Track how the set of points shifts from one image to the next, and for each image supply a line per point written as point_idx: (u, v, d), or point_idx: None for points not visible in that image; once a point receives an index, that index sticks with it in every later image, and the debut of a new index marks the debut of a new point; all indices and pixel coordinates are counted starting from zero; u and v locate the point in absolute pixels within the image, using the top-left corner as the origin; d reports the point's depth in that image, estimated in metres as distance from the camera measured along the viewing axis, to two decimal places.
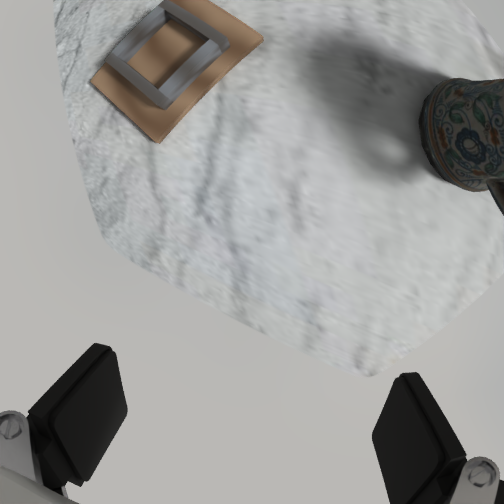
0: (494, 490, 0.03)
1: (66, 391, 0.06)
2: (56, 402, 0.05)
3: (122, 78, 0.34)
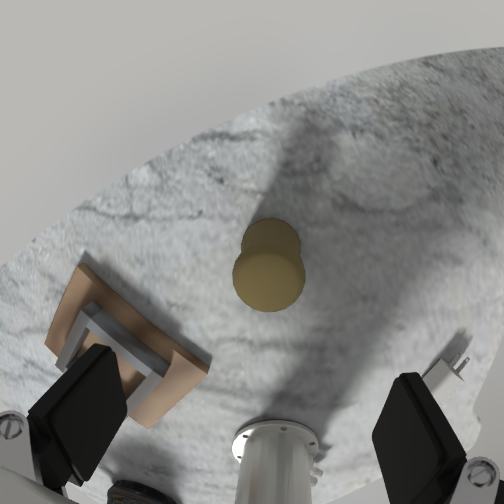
0: (494, 490, 0.03)
1: (66, 391, 0.06)
2: (56, 402, 0.05)
3: None
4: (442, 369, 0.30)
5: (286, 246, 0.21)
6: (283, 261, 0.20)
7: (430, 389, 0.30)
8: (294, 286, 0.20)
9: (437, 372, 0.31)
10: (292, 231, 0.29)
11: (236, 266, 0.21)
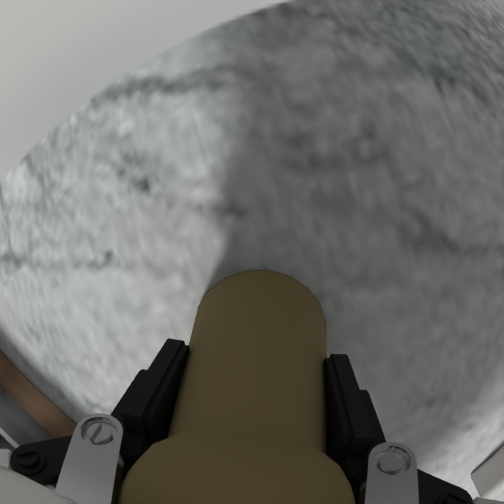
0: (413, 473, 0.04)
1: (156, 387, 0.07)
2: (150, 399, 0.06)
3: None
4: None
5: (302, 493, 0.03)
6: None
7: (485, 489, 0.13)
8: None
9: (496, 467, 0.14)
10: (310, 306, 0.12)
11: None
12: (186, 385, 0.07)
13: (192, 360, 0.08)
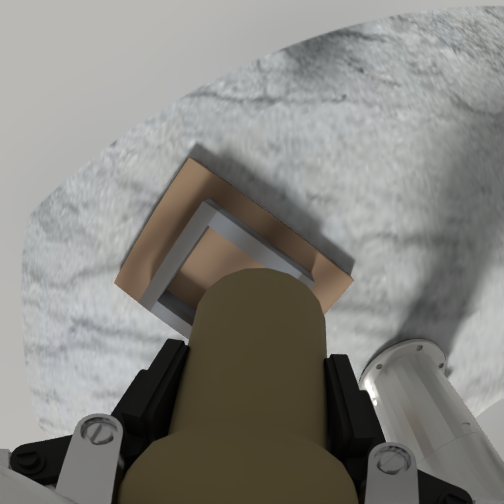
0: (413, 473, 0.04)
1: (156, 387, 0.07)
2: (150, 398, 0.06)
3: (188, 219, 0.29)
4: None
5: (305, 489, 0.03)
6: None
7: None
8: None
9: None
10: (310, 304, 0.12)
11: None
12: (186, 382, 0.07)
13: (192, 357, 0.08)
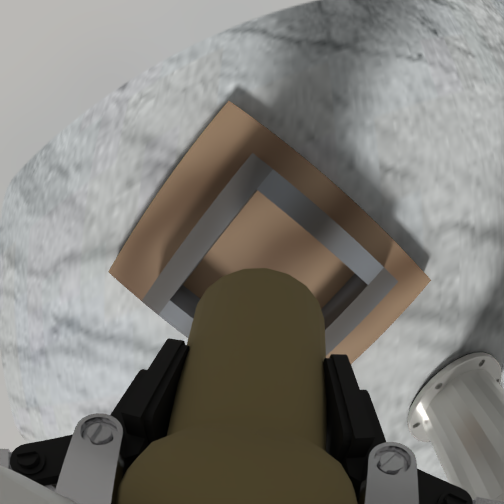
0: (413, 473, 0.04)
1: (156, 387, 0.07)
2: (150, 398, 0.06)
3: (222, 184, 0.20)
4: None
5: (304, 490, 0.03)
6: None
7: None
8: None
9: None
10: (309, 304, 0.12)
11: None
12: (185, 383, 0.07)
13: (191, 358, 0.08)
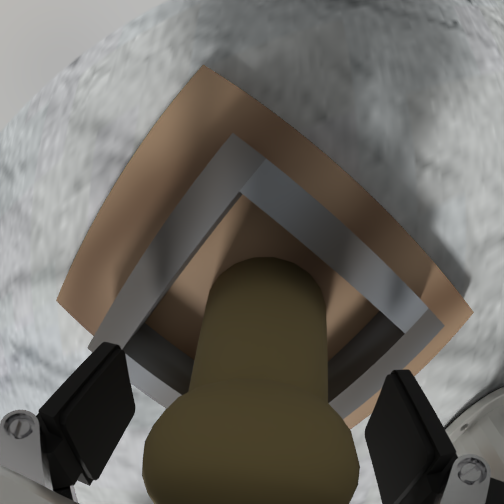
0: (485, 487, 0.03)
1: (77, 390, 0.06)
2: (67, 400, 0.06)
3: (193, 184, 0.13)
4: None
5: (311, 426, 0.05)
6: (297, 494, 0.04)
7: None
8: None
9: None
10: (312, 289, 0.13)
11: (143, 467, 0.05)
12: (204, 351, 0.09)
13: (208, 331, 0.10)
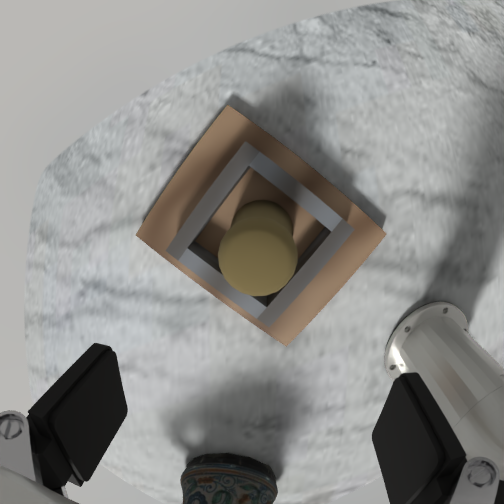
0: (493, 490, 0.03)
1: (66, 391, 0.06)
2: (56, 402, 0.05)
3: (224, 165, 0.27)
4: None
5: (275, 223, 0.19)
6: (272, 238, 0.18)
7: None
8: (285, 265, 0.18)
9: None
10: (284, 212, 0.27)
11: (221, 245, 0.19)
12: None
13: (237, 222, 0.24)
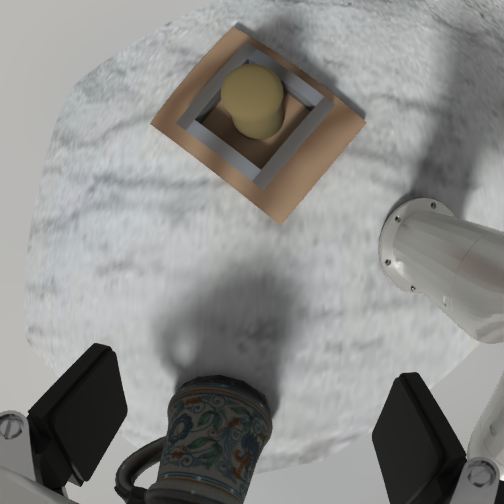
0: (494, 490, 0.03)
1: (66, 391, 0.06)
2: (56, 402, 0.05)
3: None
4: None
5: None
6: (262, 70, 0.21)
7: None
8: (272, 89, 0.21)
9: None
10: None
11: (224, 80, 0.21)
12: None
13: None
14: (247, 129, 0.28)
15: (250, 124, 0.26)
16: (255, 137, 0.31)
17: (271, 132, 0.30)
